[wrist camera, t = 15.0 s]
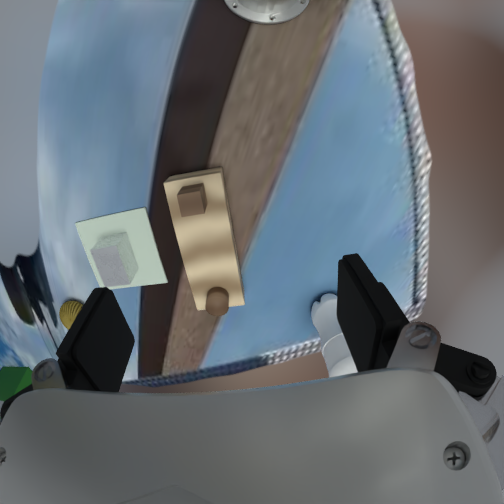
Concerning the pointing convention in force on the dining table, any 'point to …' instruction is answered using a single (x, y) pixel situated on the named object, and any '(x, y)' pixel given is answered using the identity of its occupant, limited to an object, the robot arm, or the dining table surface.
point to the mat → (139, 239)
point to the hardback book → (13, 381)
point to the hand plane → (206, 238)
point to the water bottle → (332, 337)
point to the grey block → (115, 259)
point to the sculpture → (69, 312)
